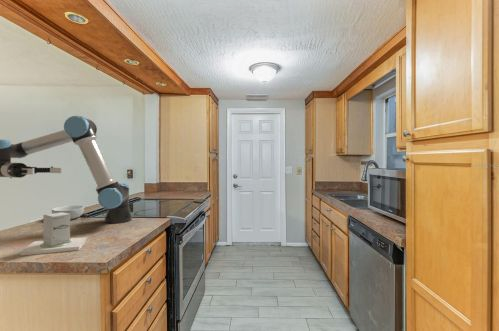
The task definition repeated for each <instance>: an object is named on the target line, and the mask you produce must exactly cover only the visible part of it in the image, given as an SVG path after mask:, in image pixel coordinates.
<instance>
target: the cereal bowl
mask: <svg viewBox="0 0 499 331" xmlns="http://www.w3.org/2000/svg"><path fill="white" fill-rule="evenodd" d="M84 210H85V207H84V206H83V205H79V204H78V205H65V206H64V205H63V206H57V207H53V208H51V214H53V213H60V212H63V213H68V214H70V221H71V220H75V219H76V218H78V217H80V216H81V215H83V213H84Z"/></svg>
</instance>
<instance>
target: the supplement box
mask: <svg viewBox="0 0 499 331" xmlns="http://www.w3.org/2000/svg"><path fill="white" fill-rule="evenodd" d="M42 216H43V228H42V230H43V231H42V232H43V234H42V235H43V238H42V241H43V244H46V245H49V246H54V245H58V244H63V243H68V242H70V239H71V220H70V214H68V213H63V212H60V213H53V214H52V213H47V214H43V215H42Z"/></svg>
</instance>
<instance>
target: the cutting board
mask: <svg viewBox="0 0 499 331" xmlns="http://www.w3.org/2000/svg"><path fill="white" fill-rule="evenodd" d="M86 241H87V236H85V237H72V238H71V237H70V242H68V243H63V244H58V245H54V246H49V245H46V244H43V240H35V241H33V242H31V243H30V244H28V245H27V246H26V247H24V248H23V249H21V251H19V256H30V255H41V254H42V255H43V254H51V253H62V252H72V251H79V250H80V249H82V247H83V245H84V244H85V243H86Z"/></svg>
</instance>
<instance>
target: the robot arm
mask: <svg viewBox="0 0 499 331" xmlns="http://www.w3.org/2000/svg"><path fill="white" fill-rule="evenodd" d="M97 127H98V126H97V125H96V123H95V122H94V121H92V120H91V119H89V118H87V117H84V116H81V115H72V116H69V117H68V118H66V120H65V122H64V123H63V130H59V131H55V132H53V133H52V132H51V133H49V134H46V135H42V136H39V137H36V138H32V139H29V140H25V141H22V142H19V143H15V144H14V143H12V142H11V141H10V140H9V139H0V178H9V179H13V178H19V179H21V178H24V177H25V176H27V175H31V176H32V175H33V176H34V175H36V174H37V173H45V174H46V173H50V174H62V168H61V167H53V166H51V165H50V167H37V166H30V165H29V166H28V165H27V164H25V163H23V162H12V158H13V159H22V158H25V157H27V156H28V155H31V154H35V153H38V152H41V151H45V150H48V149H51V148H55V147H58V146H62V145H65V144H69V143H71V142H73V144H74V145H77V146H78V148H79V149H80V151H81V154H82V155H83V158H84V159H85V160H84V161H85V162H86V165H87V166H88V169H89V171H90V173H91V175H92V177H93V180H94V181H95V183H96V185H97V187H96V189H95V191H96V192H97V195H98V196H97V202H98V204H99V205H100V206H101V207H102V208H105V209H107V211H106V213H105V216H104V223H107V224H120V223H126V222H130V221H132V220H133V219H132V218H133V215H132V213H131V210H130V205H129V204H130V195H129V194H130V186H129V183H122V182H120V183H119V182H118V180H116V179H114V178H113V176H112V173H111V171H110V169H109V167H108V165H107V163H106V160H105V159H104V156H103V155H102V151H101V150H100V148H99V145H98V143H97V141H96V140H97V137H98V136H97V132H98V128H97Z"/></svg>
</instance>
